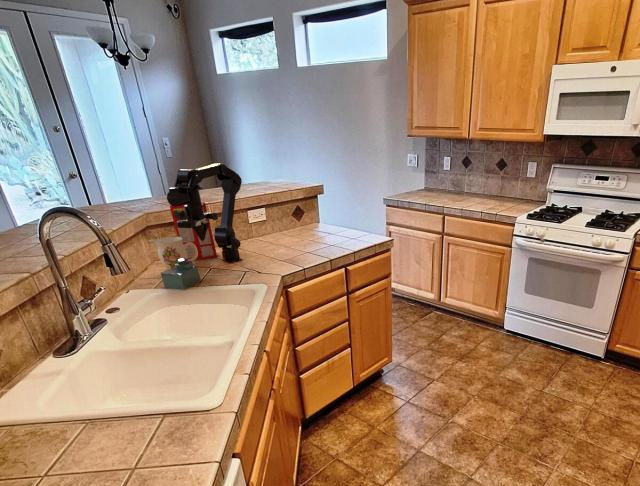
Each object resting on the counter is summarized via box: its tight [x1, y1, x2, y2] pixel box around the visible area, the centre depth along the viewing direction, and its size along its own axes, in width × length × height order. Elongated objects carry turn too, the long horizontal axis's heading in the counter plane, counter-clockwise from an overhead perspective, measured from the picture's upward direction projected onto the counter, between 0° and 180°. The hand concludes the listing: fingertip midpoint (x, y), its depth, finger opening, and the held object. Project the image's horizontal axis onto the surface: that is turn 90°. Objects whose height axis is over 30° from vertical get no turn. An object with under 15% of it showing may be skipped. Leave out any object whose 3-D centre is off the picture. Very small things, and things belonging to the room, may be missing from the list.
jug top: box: [160, 261, 201, 291], centre depth 170 cm, size 11×9×8 cm
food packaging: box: [169, 200, 218, 261], centre depth 199 cm, size 15×5×25 cm, turn 115°
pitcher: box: [147, 236, 198, 271], centre depth 186 cm, size 11×18×14 cm, turn 112°
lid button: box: [178, 258, 189, 265], centre depth 170 cm, size 4×4×2 cm
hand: (202, 240), depth 181 cm, fingers closed
